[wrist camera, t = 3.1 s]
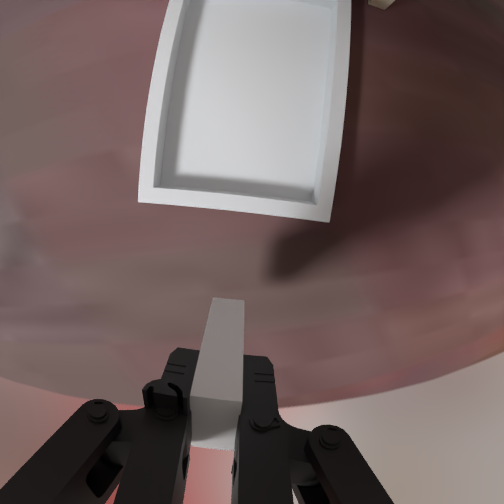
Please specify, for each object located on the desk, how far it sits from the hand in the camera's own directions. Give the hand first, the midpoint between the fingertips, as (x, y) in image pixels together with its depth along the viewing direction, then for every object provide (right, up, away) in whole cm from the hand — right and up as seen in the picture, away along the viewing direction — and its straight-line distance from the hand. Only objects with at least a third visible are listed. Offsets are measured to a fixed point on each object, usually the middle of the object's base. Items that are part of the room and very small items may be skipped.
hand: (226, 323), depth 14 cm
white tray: (+1, +13, +1) cm, 13 cm away
